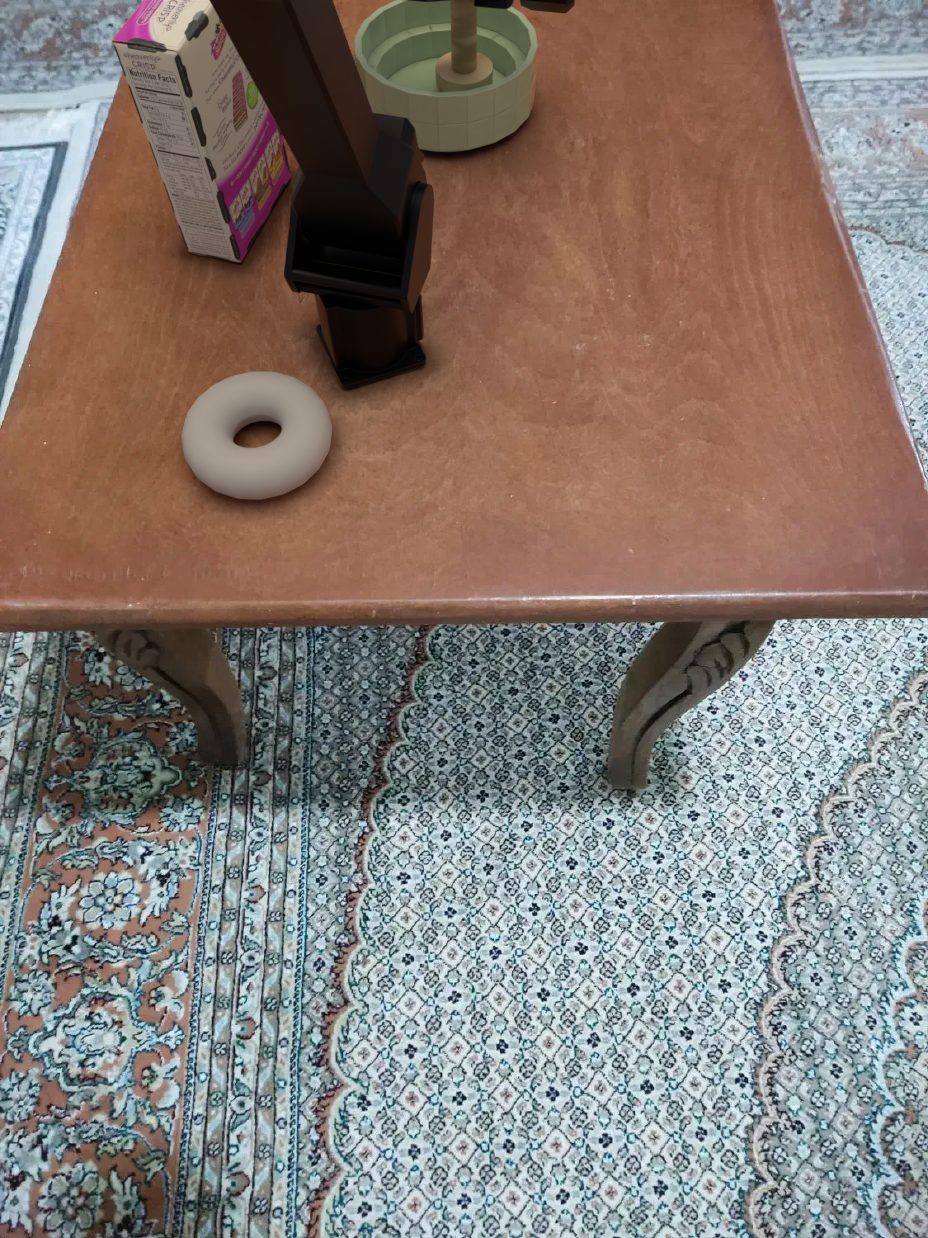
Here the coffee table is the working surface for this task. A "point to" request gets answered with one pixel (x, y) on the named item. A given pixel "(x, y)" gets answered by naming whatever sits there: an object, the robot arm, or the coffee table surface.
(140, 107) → the candy bar box
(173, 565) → the coffee table surface
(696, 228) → the coffee table surface
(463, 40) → the post
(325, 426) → the donut
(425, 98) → the bowl
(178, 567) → the coffee table surface
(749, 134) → the coffee table surface
